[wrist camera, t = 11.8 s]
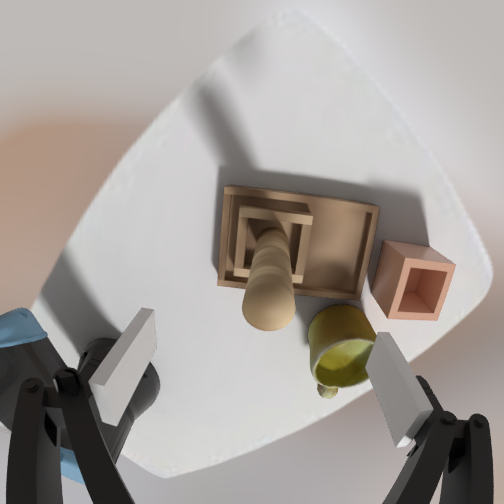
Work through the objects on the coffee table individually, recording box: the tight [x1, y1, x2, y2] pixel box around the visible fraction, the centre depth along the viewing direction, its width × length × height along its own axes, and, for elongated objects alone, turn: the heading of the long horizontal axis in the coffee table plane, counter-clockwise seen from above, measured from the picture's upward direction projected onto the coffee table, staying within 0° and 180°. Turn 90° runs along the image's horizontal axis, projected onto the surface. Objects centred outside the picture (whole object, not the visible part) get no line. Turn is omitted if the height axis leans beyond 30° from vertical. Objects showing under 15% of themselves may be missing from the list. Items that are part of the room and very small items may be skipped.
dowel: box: [242, 227, 295, 331], centre depth 27 cm, size 4×4×16 cm
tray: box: [217, 185, 380, 300], centre depth 34 cm, size 18×12×3 cm, turn 84°
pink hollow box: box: [371, 240, 456, 321], centre depth 33 cm, size 8×8×7 cm
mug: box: [308, 304, 377, 399], centre depth 36 cm, size 12×10×10 cm
